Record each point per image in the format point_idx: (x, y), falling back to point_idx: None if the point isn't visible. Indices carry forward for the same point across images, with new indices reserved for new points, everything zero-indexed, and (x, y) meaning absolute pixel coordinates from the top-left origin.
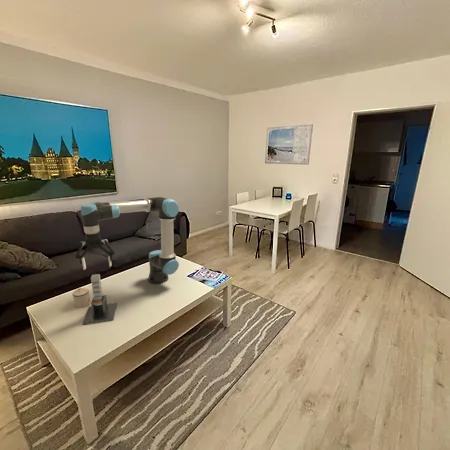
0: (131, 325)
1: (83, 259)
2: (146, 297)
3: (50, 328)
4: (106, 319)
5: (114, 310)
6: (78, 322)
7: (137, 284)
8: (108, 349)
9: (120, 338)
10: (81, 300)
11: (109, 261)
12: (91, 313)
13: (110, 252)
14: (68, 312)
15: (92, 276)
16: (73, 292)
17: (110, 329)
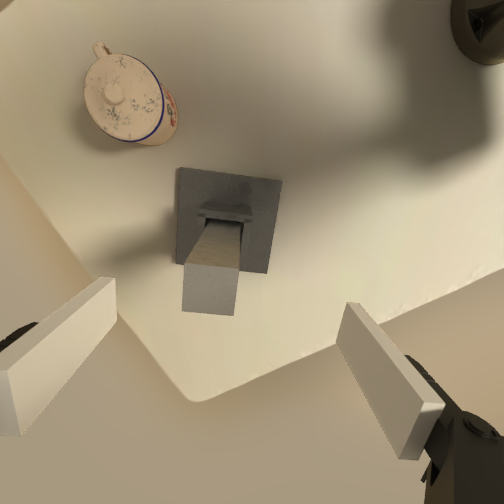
0: (312, 313)
1: (29, 409)
2: (392, 172)
3: (80, 240)
4: (246, 270)
5: (272, 232)
6: (161, 241)
7: (391, 15)
8: (252, 374)
9: (279, 350)
10: (143, 142)
11: (367, 387)
12: (196, 220)
13: (493, 470)
14: (108, 160)
15: (190, 292)
16: (86, 96)
17: (256, 309)
